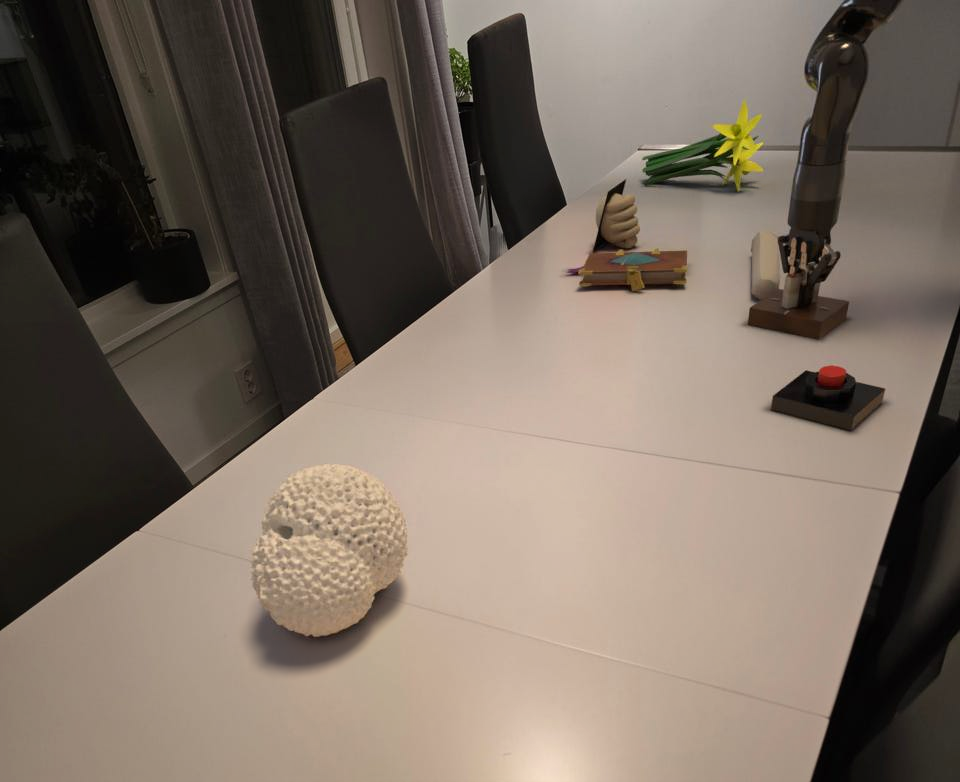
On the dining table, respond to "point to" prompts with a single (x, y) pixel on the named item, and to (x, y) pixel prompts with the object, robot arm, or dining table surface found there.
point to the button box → (828, 400)
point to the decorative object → (617, 219)
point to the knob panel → (798, 315)
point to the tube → (765, 264)
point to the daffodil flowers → (710, 154)
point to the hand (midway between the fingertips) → (799, 303)
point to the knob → (795, 290)
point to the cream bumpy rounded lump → (327, 548)
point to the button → (831, 376)
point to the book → (634, 268)
